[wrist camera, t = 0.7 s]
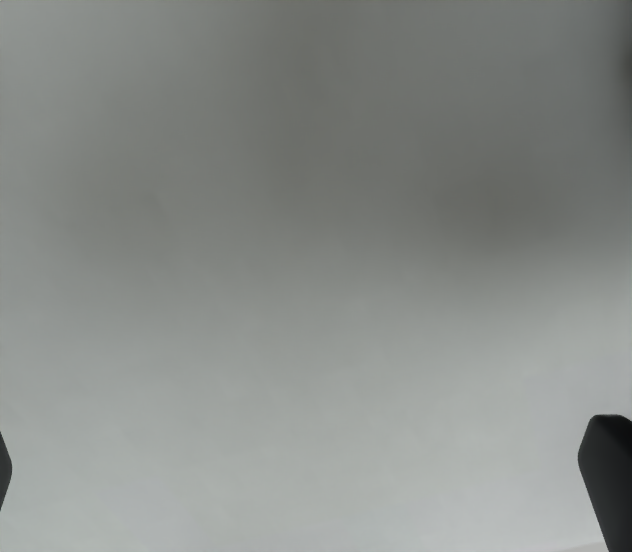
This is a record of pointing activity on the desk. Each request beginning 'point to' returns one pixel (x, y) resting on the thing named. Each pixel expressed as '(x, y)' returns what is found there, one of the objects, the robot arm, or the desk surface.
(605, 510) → the robot arm
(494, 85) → the desk surface
